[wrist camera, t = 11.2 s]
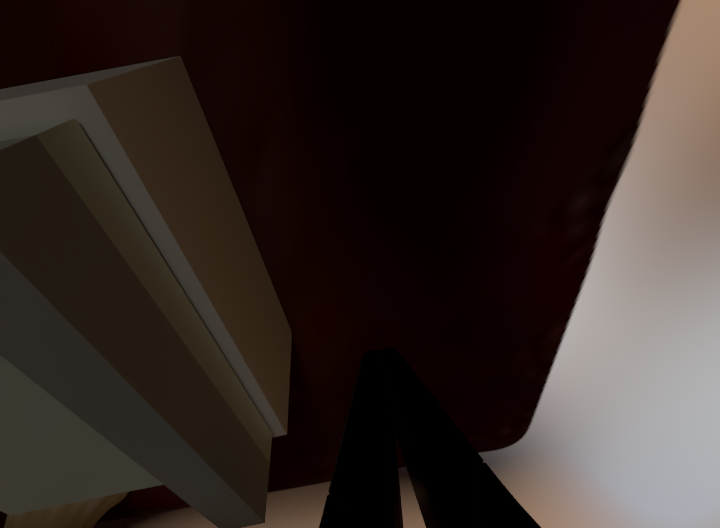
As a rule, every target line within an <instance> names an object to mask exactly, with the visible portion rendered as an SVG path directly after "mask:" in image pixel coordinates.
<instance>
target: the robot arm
mask: <svg viewBox="0 0 720 528" xmlns="http://www.w3.org/2000/svg"><path fill="white" fill-rule="evenodd" d="M379 354H380V355H379ZM393 425H394V426H393ZM394 429H395V432H394ZM395 433H396V436H397V440H398V443H399V446H400V449H401V452H402V455H403V458H404V461H405V464H406V468H407V471H408V474H409V477H410V480H411V483H412V486H413V489H414V492H415V495H416V498H417V501H418V504H419V507H420V510H421V513H422V516H423V519H424V522H425V525H426V528H541V527H540V526H539V525H538V524H537V523H536V522H535V521H534V519H532V517H531V516H530V515H529V514H528V513H527V512H526V511H525V510H524V509H523V507H522V506H521V505H520V504H519V503H518V502H517V501H516V499H515V498H514V497H513V496H512V495H511V493H510V492H509V491H508V490H507V489H506V487H505V486H504V485H503V484H502V483H501V481H500V480H499V479H498V478H497V476H496V475H495V474H494V473H493V471H492V470H491V469H490V467H489V466H488V465H487V464H486V463H483V459H482V458H481V456H480V455H479V454H478V453H477V451H476V450H475V449H474V447H473V446H472V445H471V444H470V442H469V441H468V440H467V439H466V437H465V436H464V435H463V434H462V432H461V431H460V430H459V428H458V427H457V426H456V425H455V423H454V422H453V421H452V420H451V418H450V417H449V416H448V414H447V413H446V412H445V411H444V409H443V408H442V407H441V406H440V404H439V403H438V402H437V401H436V399H435V398H434V397H433V395H432V394H431V393H430V392H429V390H428V389H427V388H426V387H425V385H424V384H423V383H422V382H421V380H420V379H419V378H418V376H417V375H416V374H415V373H414V371H413V370H412V369H411V368H410V366H409V365H408V364H407V363H406V361H405V360H404V359H403V357H402V356H401V355H400V354H399V352H398V351H397V350H396V349H395V348H394V347H390V348H385V349H381V350H380V351H379V352H378V351H377V350H375V351H370V352H365V353H364V354H363V356H362V359H361V363H360V367H359V371H358V375H357V379H356V383H355V387H354V391H353V395H352V399H351V403H350V407H349V412H348V416H347V420H346V424H345V428H344V432H343V436H342V440H341V444H340V448H339V452H338V456H337V460H336V464H335V468H334V472H333V476H332V480H331V484H330V488H329V493H330V495H328V496H327V499H326V503H325V507H324V511H323V515H322V519H321V522H320V526H319V528H403V519H402V508H401V496H400V485H399V473H398V462H397V450H396V440H395Z"/></svg>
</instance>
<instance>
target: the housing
mask: <svg viewBox="0 0 720 528" xmlns="http://www.w3.org/2000/svg"><path fill="white" fill-rule="evenodd" d="M71 118H75V119H76V120H77V122H78V124H79V125H80V127H81V128H82V130H83V132H84V133H85V135H86V136H87V138H88V140H89V141H90V143H91V144H92V146H93V148H94V149H95V151H96V152H97V154H98V156H99V157H100V159H101V160H102V162H103V164H104V165H105V167H106V168H107V170H108V172H109V173H110V175H111V176H112V178H113V180H114V181H115V183H116V184H117V186H118V188H119V189H120V191H121V192H122V194H123V196H124V197H125V199H126V200H127V202H128V204H129V205H130V207H131V208H132V210H133V212H134V213H135V215H136V216H137V218H138V220H139V221H140V223H141V224H142V226H143V228H144V229H145V231H146V232H147V234H148V236H149V237H150V239H151V240H152V242H153V244H154V245H155V247H156V248H157V250H158V252H159V253H160V255H161V256H162V258H163V260H164V261H165V263H166V264H167V266H168V268H169V269H170V271H171V272H172V274H173V276H174V277H175V279H176V280H177V282H178V284H179V285H180V287H181V288H182V290H183V292H184V293H185V295H186V296H187V298H188V300H189V301H190V303H191V304H192V306H193V308H194V309H195V311H196V312H197V314H198V316H199V317H200V319H201V320H202V322H203V324H204V325H205V327H206V328H207V330H208V332H209V333H210V335H211V336H212V338H213V340H214V341H215V343H216V344H217V346H218V348H219V349H220V351H221V352H222V354H223V356H224V357H225V359H226V360H227V362H228V364H229V365H230V367H231V368H232V370H233V372H234V373H235V375H236V376H237V378H238V380H239V381H240V383H241V384H242V386H243V388H244V389H245V391H246V392H247V394H248V396H249V397H250V399H251V400H252V402H253V404H254V405H255V407H256V408H257V410H258V412H259V413H260V415H261V416H262V418H263V420H264V421H265V423H266V424H267V426H268V428H269V429H270V431H271V432H272V437H277V436H282V435H287V423H288V403H289V383H290V362H291V342H292V332H291V329H290V327H289V324H288V322H287V319H286V317H285V314H284V312H283V309H282V307H281V304H280V302H279V299H278V297H277V294H276V292H275V289H274V287H273V284H272V282H271V279H270V277H269V274H268V272H267V269H266V267H265V264H264V262H263V260H262V257H261V255H260V252H259V250H258V247H257V245H256V242H255V240H254V237H253V235H252V232H251V230H250V227H249V225H248V222H247V220H246V217H245V215H244V212H243V210H242V207H241V205H240V202H239V200H238V197H237V195H236V192H235V190H234V187H233V185H232V182H231V180H230V177H229V175H228V173H227V170H226V168H225V165H224V163H223V160H222V158H221V155H220V153H219V150H218V148H217V145H216V143H215V140H214V138H213V135H212V133H211V130H210V128H209V125H208V123H207V120H206V118H205V115H204V113H203V110H202V108H201V105H200V103H199V100H198V98H197V95H196V93H195V90H194V88H193V85H192V83H191V81H190V78H189V76H188V73H187V71H186V68H185V66H184V63H183V61H182V58H181V56H178V57H172V58H167V59H161V60H156V61H151V62H145V63H140V64H134V65H129V66H124V67H118V68H113V69H107V70H102V71H97V72H91V73H86V74H80V75H75V76H70V77H64V78H59V79H53V80H48V81H43V82H37V83H32V84H26V85H21V86H16V87H10V88H5V89H0V132H2V131H7V130H13V129H18V128H23V127H29V126H34V125H39V124H45V123H50V122H55V121H61V120H66V119H71Z"/></svg>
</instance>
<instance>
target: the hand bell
mask: <svg viewBox="0 0 720 528" xmlns="http://www.w3.org/2000/svg"><path fill="white" fill-rule="evenodd" d="M127 494H128V492H124V493H119V494H114V495H109V496H104V497H99V498H94V499H89V500H84V501H79V502H74V503H69V504H64V505H59V506H54V507H49V508H44V509H39V510H34V511H29V512H25V513H20V514H15V515H8V514H7V519H6V523H5V527H4V528H93V526H94V525H95V524H96V522H97V521H98V520H99V519H100V518H101V517H102V516H103V515H104V514H105V513H106V512H107V511H108V510H109V509H110V508H111V507H113V506H115V505H116V504H118V503H119V502H120V501H122V500H123V498H124V497H125V496H126V495H127Z"/></svg>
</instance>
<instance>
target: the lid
mask: <svg viewBox="0 0 720 528" xmlns="http://www.w3.org/2000/svg"><path fill="white" fill-rule="evenodd" d="M271 442H272V432H271V431H270V429H269V428H268V426H267V424H266V423H265V421H264V420H263V418H262V416H261V415H260V413H259V412H258V410H257V408H256V407H255V405H254V404H253V402H252V400H251V399H250V397H249V396H248V394H247V392H246V391H245V389H244V388H243V386H242V384H241V383H240V381H239V380H238V378H237V376H236V375H235V373H234V372H233V370H232V368H231V367H230V365H229V364H228V362H227V360H226V359H225V357H224V356H223V354H222V352H221V351H220V349H219V348H218V346H217V344H216V343H215V341H214V340H213V338H212V336H211V335H210V333H209V332H208V330H207V328H206V327H205V325H204V324H203V322H202V320H201V319H200V317H199V316H198V314H197V312H196V311H195V309H194V308H193V306H192V304H191V303H190V301H189V300H188V298H187V296H186V295H185V293H184V292H183V290H182V288H181V287H180V285H179V284H178V282H177V280H176V279H175V277H174V276H173V274H172V272H171V271H170V269H169V268H168V266H167V264H166V263H165V261H164V260H163V258H162V256H161V255H160V253H159V252H158V250H157V248H156V247H155V245H154V244H153V242H152V240H151V239H150V237H149V236H148V234H147V232H146V231H145V229H144V228H143V226H142V224H141V223H140V221H139V220H138V218H137V216H136V215H135V213H134V212H133V210H132V208H131V207H130V205H129V204H128V202H127V200H126V199H125V197H124V196H123V194H122V192H121V191H120V189H119V188H118V186H117V184H116V183H115V181H114V180H113V178H112V176H111V175H110V173H109V172H108V170H107V168H106V167H105V165H104V164H103V162H102V160H101V159H100V157H99V156H98V154H97V152H96V151H95V149H94V148H93V146H92V144H91V143H90V141H89V140H88V138H87V136H86V135H85V133H84V132H83V130H82V128H81V127H80V125H79V124H78V122H77V120H76V119H75V118H71V119H66V120H61V121H55V122H50V123H45V124H39V125H34V126H29V127H23V128H18V129H13V130H7V131H2V132H0V511H2V512H4V513H6V514H8V515H15V514H20V513H25V512H29V511H34V510H39V509H44V508H49V507H54V506H59V505H64V504H69V503H74V502H79V501H84V500H89V499H94V498H99V497H104V496H109V495H114V494H119V493H124V492H129V491H134V490H139V489H143V488H148V487H153V486H158V485H163V484H164V485H165V486H166V487H168V488H169V489H170V490H171V491H173V492H174V493H175V494H176V495H178V496H179V497H180V498H182V499H183V500H184V501H185V502H187V503H188V504H189V505H190V506H192V507H193V508H194V509H195V510H197V511H198V512H199V513H201V514H202V515H203V516H204V517H206V518H207V519H208V520H209V521H211V522H212V523H213V524H215V525H216V526H217V527H218V528H241V527H246V526H251V525H256V524H261V523H265V513H266V501H267V489H268V477H269V466H270V454H271Z"/></svg>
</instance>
